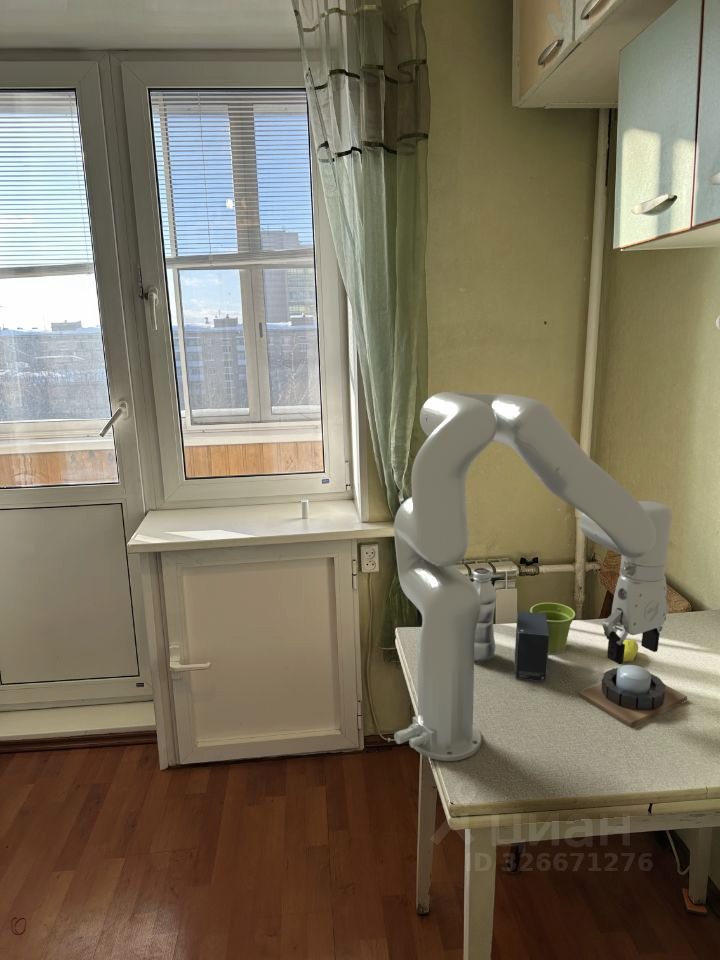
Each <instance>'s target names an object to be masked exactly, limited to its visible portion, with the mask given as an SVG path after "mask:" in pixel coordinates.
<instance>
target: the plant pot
mask: <svg viewBox="0 0 720 960" xmlns="http://www.w3.org/2000/svg"><path fill="white" fill-rule="evenodd" d="M529 612H533V613H544V614H546V618H547V626H548V633H549V645H548V654H551V655H552V654H556V655H557V654H559V653H560V652H564V651H565V649H566V646H567V642H568V636H569V631H570V629H571V624H572V623H573V619H575V617H576V612H575V610H573V608H571V607H570V606H568V605H565V604H562V603H556V602H541V603H540V602H539V603H537V604H535V605H533V606H532V607H530V609H529Z"/></svg>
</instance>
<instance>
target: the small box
mask: <svg viewBox="0 0 720 960" xmlns="http://www.w3.org/2000/svg"><path fill="white" fill-rule="evenodd" d="M548 645H549V633H548V626H547V618H546V614H544V613H533V612H530V611H521V610H517V611H516V632H515V647H514V675H515V676H514V678H515V680H528V681H535V682H536V681H537V682H546V681H547V672H548V660H549V659H548V657H549V653H548Z"/></svg>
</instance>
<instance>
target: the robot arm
mask: <svg viewBox="0 0 720 960" xmlns="http://www.w3.org/2000/svg"><path fill="white" fill-rule="evenodd" d="M419 413H420V414H419V423H420V426H421V429H422V430H423V432H424V434H425V435H426V436H427V438H426V439H425V441H424V442H423V444H422V445H421V447H420V449H419V450H418V452H417V454H416V456H415V459H414V460H413V464H412V469H411V480H410V481H411V482H410V483H411V497H408V498H407V499H406V500H405V501H403V502H402V503H401V504H400V506H399V508H398V509H397V512H396V514H395V517H394V521H393V522H394V523H393V532H394V533H393V534H394V535H393V536H394V543H395V554H396V563H397V565H396V566H397V573H398V579H399V583H400V588H401V590H402V591H403V594H404V595H405V596H406V597H407V599H408V600H409V601H411V603H413V605H414V606H415V608H416V609H417V610H418V611H419V613H420V614H421V617H422V619H421V620H422V624H421V629H420V631H419V634H418V640H417V715H415V716H412V724H409V726H408V728H405V729H402V730H399V731H396V732H394V735H393V737H394V740H395V743H396V745H397V744H398V745H400V744H403V743H405V742H409V743H408V744H409V746H410V748H412V749H414V750H415V751H416V752H418V753H419V754H421V755H423V756H424V757H427V758H428V759H431V760H436V761H440V762H441V761H442V762H454V761H460V760H464V759H467V758H469V757H471V756H473V755H474V754H476V753H477V752H478V751H479V750H480V747H481V745H482V732H481V730H480V728H479V726H478V725H476V724H475V723H474V688H475V686H474V684H475V683H474V682H475V679H474V678H475V677H474V676H475V660H474V644H475V633H476V627H477V622H478V618H479V614H480V597H479V594H478V591H477V589H476V587H475V586H474V584H473V581H472V580H471V579H470V578H469V577H468V576H466V575H465V574H464V573H463V572H462V571H460V570H459V569H458V568H457V567H456V566H455V565H458V563H460V561H462V560H463V559H464V557H465V555H466V553H467V551H468V549H469V548H468V547H469V527H468V525H469V524H468V513H467V499H466V482H467V481H466V480H467V474H468V471H469V469H470V467H471V465H472V464H473V462H474V461H475V460H476V458H477V457H479V456H480V454H481V453H482V452H484V450H486V449H487V448H488V446H489V445H490V444H491V443H492V442H497V443H501V444H503V445H506V446H509V447H510V448H512V449H513V450H514V452H515V453H516V454H517V455H518V456H519V457H520V458H521V459H522V461H524V463H525V464H526V465H527V466H528V468H529V469H530V470H531V471H532V472H533V473H534V475H536V477H537V478H538V479H539V480H540V482H541V483H542V484H543V485H544V487H545V488H546V489H547V490H549V491H550V492H551V493H552V494H553V495H555V496H556V497H557V498H558V499H560V500H561V501H563V502H565V503H566V504H568V505H569V506H572V507H573V508H575V509H577V510H578V511H580V512H581V513H580V514H579V517H578V523H579V524H578V525H579V526H578V527H579V528H580V531H581V532H582V533H583V534H584V535H585V537H587V538H588V539H589V540H591V541H593V542H595V543H597V544H598V545H600V546H603V547H605V548H607V549H609V550H611V551H613V552H615V553H617V554H619V555H621V558H620V565H619V566H620V569H619V576H618V579H617V583H616V587H615V590H614V594H613V601H612V605H611V613H610V615H609V616H608V617H607V618H606V619H605V620H604V621H603V622H602V625H601V626H602V628H603V633H604V636H605V638H606V639H607V640H608V644H607V652H606V658H607V660H610V661H612V662H614V663H615V664H617V665H622V664H623V665H624V661H623V659H624V650H625V644H623V642H624V640H626V639H627V636H628V635H631V636H635V635H640V634H642V636H641V645H640V646H641V647H642V648H645V649H647V650H649V651H651V652H653V653H655V652H656V653H657V652H658V650H659V641H660V632H662V631H663V625H664V624H665V621H666V620H667V619H666V616H667V615H668V612H669V610H670V605H668V604H667V591H668V589H667V578H666V576H665V573H666V567H667V566H666V563H667V556H668V549H669V540H670V535H671V525H672V514H673V513H672V510H671V509H670V507H669V506H667V505H665V504H664V503H661V502H658V501H657V502H655V501H648V500H640V501H639V500H637V499H636V497H634V496H633V495H632V494H631V493H630V492H629V491H628V490H627V489H626V488H625V487H624V486H622V484H620V483H619V482H618V481H617V480H616V479H614V478H613V476H611V475H610V474H609V473H608V472H607V471H605V470H604V469H603V468H602V467H601V466H600V465H599V464H598V463H596V462H595V461H594V460H593V459H592V458H590V456H588V454H587V453H586V452H585V451H584V449H583V448H582V447H581V446H580V445H579V444H578V442H577V440H575V439H574V437H573V436H572V435H571V433H570V432H569V431H568V430H567V428H566V427H565V425H564V424H562V422H561V421H560V420H559V418H558V417H557V416H556V414H554V412H553V411H552V410H551V409H550V408H549V406H547V404H545V403H544V402H541V401H539V400H537V399H535V398H530V397H524V396H520V395H515V394H510V393H478V392H477V393H476V392H456V391H454V392H453V391H442V392H438V393H436V394H434V395H431V396H430V397H428V399H427V400H426V401H425V402H424V404H423V405H422V407H421V409H420V412H419ZM618 630H619V631H620V632H621V633H619V634H620V635H618V634H617V632H618Z"/></svg>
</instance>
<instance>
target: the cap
mask: <svg viewBox="0 0 720 960" xmlns="http://www.w3.org/2000/svg"><path fill="white" fill-rule="evenodd" d="M617 668H618V669H617V680H616V687H618V688H620V689H622V690H624V691H627V692H631V693H635V694H646V693H650V683H651V674H652V673H651V672H650V671H649V670H648V669H646V668H644V667H641V666H638V665H634V664H625V665H624V664H623V665H621V666H618V667H617ZM650 673H651V674H650Z"/></svg>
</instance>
